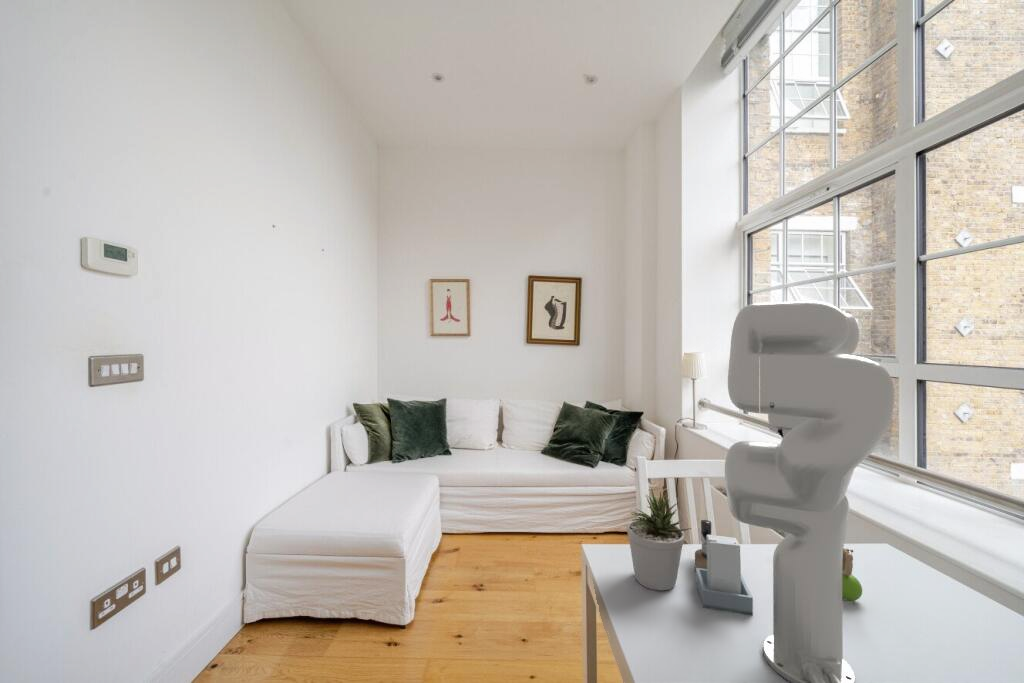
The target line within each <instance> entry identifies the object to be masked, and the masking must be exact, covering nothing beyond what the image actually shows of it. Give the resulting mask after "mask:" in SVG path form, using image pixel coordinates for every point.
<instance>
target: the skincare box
mask: <svg viewBox="0 0 1024 683" xmlns="http://www.w3.org/2000/svg"><path fill="white" fill-rule="evenodd" d="M706 539H707V584H708V590H715V591H721V592H728V593H734V594H741V576H742V574H741V573H742V571H741V568H742V567H741V565H742V564H741V563H742V562H741V545H740V543H739V541H738V540H737V538H736V537H730V536H722V535H714V534H713V535H712V534H711V535H706Z"/></svg>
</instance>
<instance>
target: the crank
mask: <svg viewBox="0 0 1024 683" xmlns="http://www.w3.org/2000/svg"><path fill="white" fill-rule="evenodd" d="M706 535H712V521H710V520H707V519H701V520H700V540H701V543H702V544H701V549H702V555H703V556H704V557H705V558H707V539H706Z"/></svg>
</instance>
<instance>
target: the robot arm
mask: <svg viewBox="0 0 1024 683" xmlns="http://www.w3.org/2000/svg"><path fill="white" fill-rule="evenodd" d="M858 325H859V324H858V321H857V320H856V318H855V317H854V316H853V315H852V314H851V313H847V312H843V311H842V310H841V309H840V308H838V307H837V306H835V305H833V304H831V303H828V302H825V301H818V300H815V301H814V300H804V301H802V300H801V301H783V302H781V301H780V302H758V303H757V302H755V303H750V304H747V305H746V306H743V307H742V309H740V311H739V312H738V313H737V315H736V317H735V320H734V323H733V326H732V330H731V331H732V332H731V337H730V338H731V339H730V349H729V360H728V369H727V370H728V372H727V392H728V396H729V399H730V401H731V403H732V404H733V405H734V406H735V408H737V409H739V410H740V411H743V412H748V413H753V414H760V415H761V414H763V415H766V414H767V419H768V423H769V426H768V429H769V431H772V432H774V433H777V434H779V435H780V436H781V438H782V439H781V441H780V443H773V442H772V443H771V442H762V441H753V440H752V441H750V440H749V441H748V440H741V441H738V442H734V443H733V444H731V446H730V447H729V449H728V451H727V453H726V457H725V462H724V479H725V480H724V482H725V487H726V489H725V490H726V499H727V504H728V508H729V511H730V512H731V515H732V517H734V519H736V520H737V521H738V522H741V523H742V524H746V525H749V526H755V527H761V528H765V529H770V530H774V531H781V532H783V533H788V534H787V535H786V536H785V537H783V538H782V539H781V540H780V542H778V544H777V545H776V547H775V549H774V552H773V556H772V561H773V562H772V567H773V569H772V570H773V571H772V572H773V573H772V574H773V575H772V576H773V577H772V580H773V581H772V582H773V583H772V584H773V587H772V589H773V590H772V591H773V592H772V594H773V595H772V598H773V600H772V601H773V602H772V604H773V605H772V607H773V612H772V613H773V615H772V616H773V619H772V620H773V622H772V625H773V626H772V627H773V630H772V631H773V634H772V635H769V636H768V637H766V638H765V639H764V641H763V644H762V653H763V656H764V658H765V660H766V662H767V663H768V664H769V665H770V667H771V668H772V669H773V670H775V672H776V673H777V674H779V675H780V676H782V677H783V678H784V679H786V680H787V681H789V682H790V683H856V676H855V672H854V671H853V669H852V667H851V666H850V665H849V663H847V661H846V660H845V659H844V658H843V653H844V652H843V645H844V644H843V640H844V639H843V599H842V560H843V548H844V546H845V540H846V534H847V533H846V532H847V529H848V524H849V517H850V504H849V500H848V498H847V495H846V493H847V491H848V489H849V488H848V487H849V485H850V481H851V480H852V477H853V474H854V471H855V469H856V468H857V467H858V466H859V465H860V464H861V463H863V461H865V460H866V459H867V458H868V457H869V456H870V455H871V454H872V453H873V452H875V450H876V449H877V448H878V447H879V445H880V443H881V442H882V440H884V438H885V435H886V433H887V431H888V429H889V426H890V422H891V419H892V416H893V411H894V404H895V386H894V382H893V380H892V377H891V375H890V373H889V372H888V370H887V369H886V368H885V367H884V366H882V365H881V364H879V363H878V362H876V361H874V360H871V359H868V358H866V357H862V356H857V355H853V353H854V352H855V351H856V349H857V346H858V344H859V340H860V331H859V326H858Z"/></svg>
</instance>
